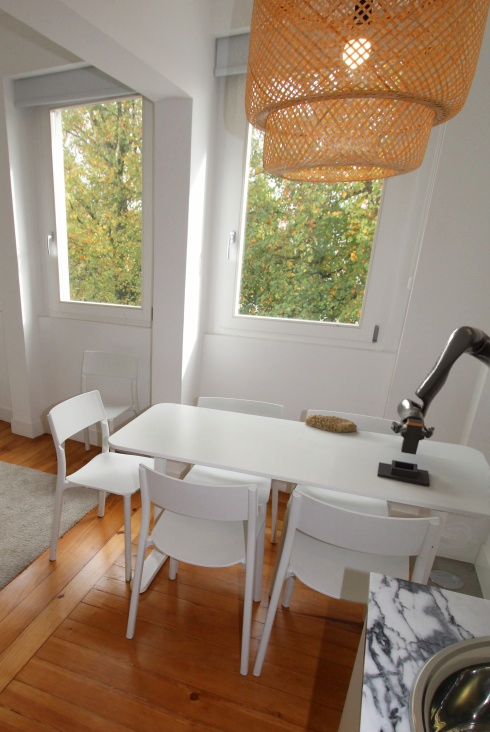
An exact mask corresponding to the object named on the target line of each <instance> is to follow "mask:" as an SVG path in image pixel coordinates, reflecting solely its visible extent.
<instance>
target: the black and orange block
mask: <svg viewBox="0 0 490 732" xmlns="http://www.w3.org/2000/svg"><path fill="white" fill-rule="evenodd" d="M422 428H423V421H421V420H414V419H408V422H407V426H406V435H405V438H403V439H402V443H401V447H400V452H401V453H404V454H409V455H415V456H416V455H417V451H418V447H419V443H420V440H419V439H420V435H421V432H422Z"/></svg>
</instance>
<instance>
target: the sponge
mask: <svg viewBox="0 0 490 732" xmlns="http://www.w3.org/2000/svg"><path fill="white" fill-rule="evenodd" d="M305 425H306V426H309V427H311V428H316V429H320V430H323V431H326V432H332V433H354V432H357V428H358V425H357V424H355V422H354V421H352V420H349V419H346V418H342V417H339V416H333V415H322V414H310V415H309V416H308V417H307V418H305Z"/></svg>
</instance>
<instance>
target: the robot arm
mask: <svg viewBox="0 0 490 732" xmlns="http://www.w3.org/2000/svg"><path fill="white" fill-rule="evenodd" d="M464 354H467V355H469V356H472V358H475V359H476V360H478V361H479V362H481V363H483V364H484V366H486V367H487V368H488V370H490V336H489V334H487V333H486V332H485V331H484V330H482V329H480V328H477V327H473V326H470V325H462V326H460V327H457V328H456V329H455V330H454V331H453V332H452V333H451V334H450V336H449V338H448V339H447V341H446V343H445V344H444V347H443V349H442V350H441V352H440V354H439V356H438V358H437V359H436V361H435V363H434V364H433V366H432V368H430V370H429V372H428V373H427V374H426V376H425V377H424V379H422V381H421V383H420V384H419V385H418V386H417V388H416V389H415V391H414V395H415V396H416V397H417V398H418V399H419V400H420V401H421V402H422V404H420V403H418V402H416V401H414V400H412V399H410V398H404V399H402V400H401V401H400V402H399V403H398V405H397V407H396V413H397V415H398V417H399V418H400V421H399V422H400V423H398V422H396V421H392V423H391V426H390V429H391V431H392V432H393V433H395V434H399V436H401V437H402V438H403V439H404V438H405V435H406V426H407V422H408V419H414V420H421V421H423V428H422V432H421V435H420V439H419V441H421V442H422V440H425V438H426V439H430V438H431V437H432V436H433V435H434V433H435V429H436V428H435V427H434V426H430V427H427V426H426V425H425V418H426V416H427V413H428V411H429V408H430V407H431V404H432V402H433V400H434V399H435V397H436V396H438V394H439V393H440V391H441V390H442V389H443V387H444V386H445V385H446V383H447V380H448V378H449V375H450V372H451V371H452V368H453V367H454V365H455V363H456V362H457V361H458V360H459V358H461V356H462V355H464Z"/></svg>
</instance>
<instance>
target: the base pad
mask: <svg viewBox="0 0 490 732" xmlns="http://www.w3.org/2000/svg"><path fill="white" fill-rule="evenodd" d="M377 468H378V469H377V477H379V478H383V479H389V480H395V481H400V482H403V483H404V482H405V483H410V484H414V485H420V486H426V487H429V486H430V476H429V470H426V469H420V468H418V463H413V462H408V461H402V460H401V461H400V460H396V459H392V460H391V463H386V462H381V461H380V462H378V467H377Z"/></svg>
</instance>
